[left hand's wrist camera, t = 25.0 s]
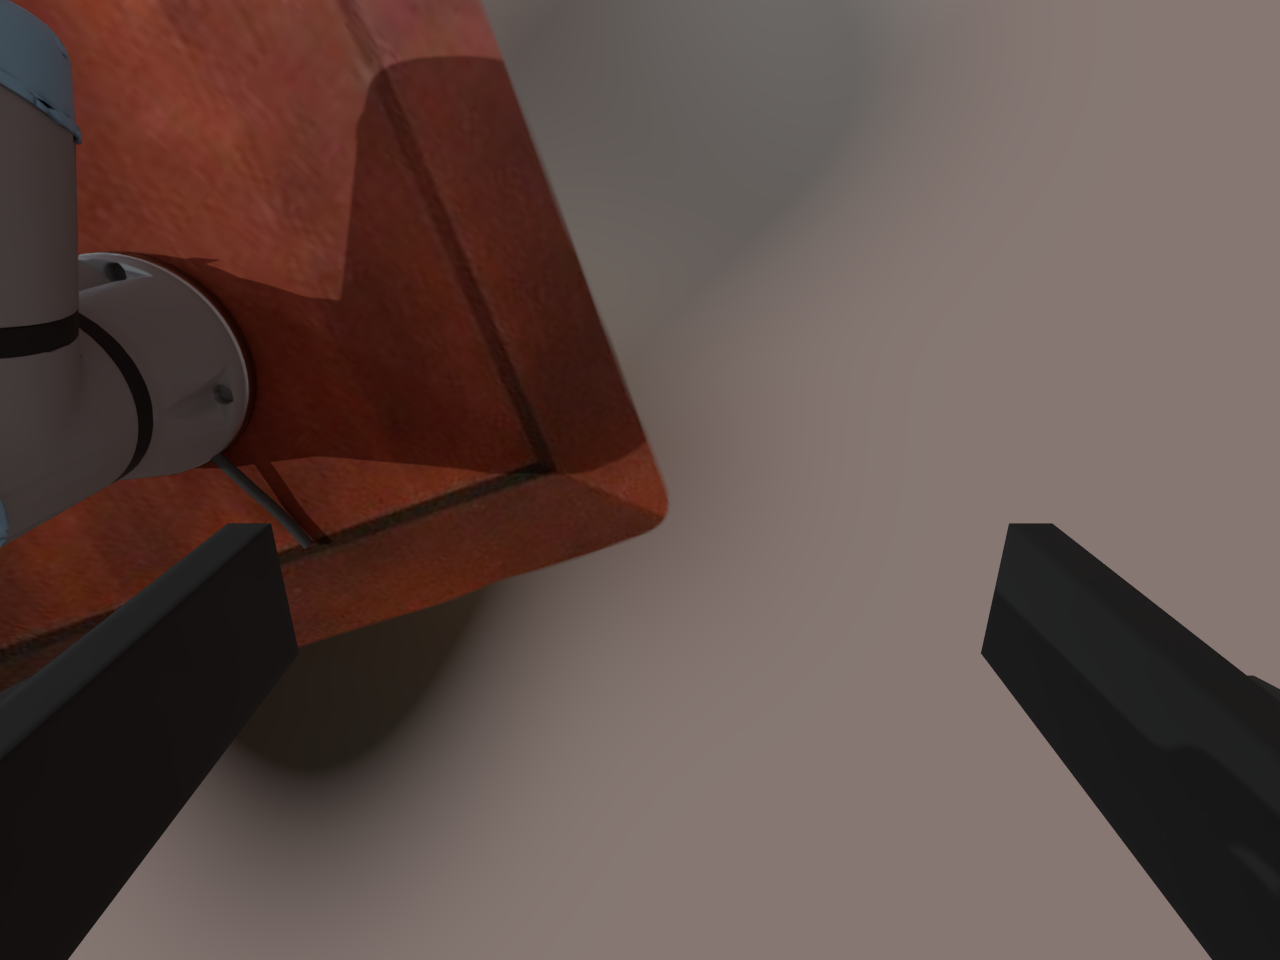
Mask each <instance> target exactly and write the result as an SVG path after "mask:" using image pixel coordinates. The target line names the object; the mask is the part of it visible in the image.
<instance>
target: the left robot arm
mask: <svg viewBox="0 0 1280 960" xmlns="http://www.w3.org/2000/svg"><path fill="white" fill-rule="evenodd" d="M81 142H82V134H81V131H80V129H79V127H78V126H77V124H76V123H75V110H74V96H73V82H72V69H71V63H70V59H69V56H68V53H67V51H66V49H65V47H64V45H63V44H62V43H61V41H60V40H59V38H58V37H57V36H56V35H55V33H54V32H53V31H52V30H51V29H50V28H49V27H48V26H47V25H46V24H45V23H43V22H42V21H41V20H40V19H39V18H37V17H36V16H34V15H33V14H32V13H30V12H28V11H27V10H25V9H24V8H22V7H20V6H18V5H17V4H15V3H13V2H11V1H9V0H0V547H2V546H4V545H6V544H7V543H9V542H11V541H12V540H14V539H16V538H18V537H19V536H21V535H23V534H25V533H26V532H28V531H30V530H32V529H33V528H35V527H37V526H39V525H40V524H42V523H44V522H46V521H47V520H49V519H51V518H53V517H54V516H56V515H58V514H59V513H61V512H63V511H65V510H66V509H68V508H70V507H72V506H73V505H75V504H77V503H79V502H80V501H82V500H84V499H86V498H87V497H89V496H91V495H93V494H94V493H96V492H98V491H100V490H101V489H103V488H105V487H106V486H108V485H110V484H112V483H114V482H115V481H117V480H126V479H136V478H146V477H156V476H165V475H172V474H176V473H180V472H184V471H187V470H190V469H193V468H196V467H198V466H201V465H203V464H205V463H207V462H208V461H210V460H212V461H213V462H214V463H215V464H216V465H217V466H218V467H219V468H220V469H222V470H223V471H224V472H225V473H226V474H227V475H228V476H229V477H230V478H231V479H232V480H234V481H235V482H236V483H237V484H238V485H239V486H240V487H241V488H242V489H243V490H245V491H246V492H247V493H248V494H249V495H250V496H251V497H253V498H254V499H255V500H256V501H257V502H258V503H259V504H261V505H262V506H263V507H264V508H265V509H266V510H267V511H268V512H270V513H271V514H272V515H273V516H274V517H275V518H276V519H277V520H278V521H279V522H280V523H281V524H282V525H283V526H284V527H285V528H286V529H287V530H288V531H289V532H290V533H291V535H292V536H293V537H294V538H295V539H296V540H297V541H298V542H299V543H300V544H301V545H302V546H303V548H306V547H308V546H309V545H310V544H311V543H312V542H313V541H312V540H311V539H310V537H309V536H308V535H307V534H306V533H305V532H304V531H303V530H302V529H301V528H300V526H299V525H298V524H297V523H296V522H295V521H294V520H293V519H292V518H291V517H290V516H289V515H288V514H287V513H286V512H285V511H284V510H283V509H282V508H281V507H280V506H279V505H278V504H277V503H276V502H274V501H273V500H272V499H271V498H270V497H269V496H268V495H267V494H265V493H264V492H263V491H262V490H261V489H260V488H259V487H258V486H256V485H255V484H254V483H253V482H252V481H251V480H250V479H249V478H248V477H247V476H245V475H244V474H243V473H242V472H241V471H240V470H239V469H238V468H237V467H236V466H235V465H234V464H233V463H231V462H230V461H229V460H228V459H227V458H226V457H225V456H224V455H223V454H222V453H223V452H224V451H226V450H227V449H228V448H229V447H231V446H232V445H233V444H234V443H235V442H236V441H237V439H238V438H239V437H240V436H241V434H242V433H243V431H244V430H245V428H246V426H247V424H248V422H249V420H250V418H251V415H252V411H253V408H254V403H255V396H256V377H255V369H254V365H253V360H252V357H251V354H250V350H249V347H248V345H247V343H246V340H245V338H244V336H243V334H242V332H241V330H240V329H239V327H238V325H237V324H236V322H235V320H234V319H233V317H232V316H231V315H230V313H229V312H228V311H227V309H226V308H225V307H224V306H223V305H222V303H221V302H220V301H219V300H218V299H217V298H216V297H215V296H214V295H213V294H212V293H211V292H210V291H209V290H208V289H207V288H205V287H204V286H203V285H202V284H200V283H199V282H198V281H197V280H195V279H194V278H192V277H191V276H189V275H188V274H186V273H185V272H183V271H181V270H179V269H178V268H176V267H174V266H172V265H169V264H167V263H165V262H163V261H160V260H157V259H155V258H152V257H148V256H144V255H141V254H135V253H130V252H118V251H115V252H98V253H89V254H81V255H78V234H77V186H76V144H81ZM298 654H299V651H298V647H297V642H296V637H295V633H294V628H293V623H292V619H291V614H290V610H289V605H288V600H287V596H286V591H285V586H284V582H283V577H282V573H281V568H280V563H279V559H278V554H277V550H276V545H275V540H274V536H273V531H272V526H271V524H227V525H225V526H224V527H223V528H221V529H220V530H219V531H218V532H216V533H215V534H214V535H212V536H211V537H210V538H209V539H207V540H206V541H205V542H203V543H202V544H201V545H200V546H198V547H197V548H196V549H195V550H193V551H192V552H191V553H189V554H188V555H187V556H186V557H184V558H183V559H182V560H180V561H179V562H178V563H177V564H175V565H174V566H173V567H171V568H170V569H169V570H168V571H166V572H165V573H164V574H163V575H161V576H160V577H159V578H157V579H156V580H155V581H154V582H152V583H151V584H150V585H148V586H147V587H146V588H145V589H143V590H142V591H141V592H140V593H138V594H137V595H136V596H134V597H133V598H132V599H131V600H129V601H128V602H127V603H125V604H124V605H123V606H122V607H120V608H119V609H118V610H116V611H115V612H114V613H113V614H111V615H110V616H109V617H108V618H106V619H105V620H104V621H102V622H101V623H100V624H99V625H97V626H96V627H95V628H93V629H92V630H91V631H90V632H88V633H87V634H86V635H85V636H83V637H82V638H81V639H79V640H78V641H77V642H76V643H74V644H73V645H72V646H70V647H69V648H68V649H67V650H65V651H64V652H63V653H61V654H60V655H59V656H58V657H56V658H55V659H54V660H53V661H51V662H50V663H49V664H47V665H46V666H45V667H44V668H42V669H41V670H40V671H38V672H37V673H36V674H35V675H33V676H32V677H31V678H27V679H25V680H23V681H21V682H19V683H17V684H15V685H13V686H11V687H9V688H8V689H6V690H4V691H2V692H0V960H68V959H69V957H70V956H71V955H72V953H73V952H74V951H75V949H76V948H77V947H78V945H79V944H80V943H81V941H82V940H83V939H84V937H85V936H86V935H87V933H88V932H89V931H90V929H91V928H92V927H93V925H94V924H95V923H96V922H97V920H98V919H99V918H100V916H101V915H102V914H103V912H104V911H105V910H106V908H107V907H108V906H109V904H110V903H111V902H112V900H113V899H114V898H115V896H116V895H117V894H118V892H119V891H120V890H121V888H122V887H123V886H124V884H125V883H126V882H127V880H128V879H129V878H130V876H131V875H132V874H133V872H134V871H135V870H136V868H137V867H138V866H139V865H140V863H141V862H142V861H143V859H144V858H145V857H146V855H147V854H148V853H149V851H150V850H151V849H152V847H153V846H154V845H155V843H156V842H157V841H158V839H159V838H160V837H161V835H162V834H163V833H164V831H165V830H166V829H167V827H168V826H169V825H170V823H171V822H172V821H173V820H174V818H175V817H176V815H177V814H178V813H179V811H180V810H181V809H182V808H183V806H184V805H185V804H186V802H187V801H188V800H189V798H190V797H191V796H192V794H193V793H194V792H195V790H196V789H197V788H198V786H199V785H200V784H201V782H202V781H203V780H204V778H205V777H206V776H207V774H208V773H209V772H210V770H211V769H212V768H213V766H214V765H215V764H216V763H217V761H218V760H219V758H220V757H221V756H222V755H223V753H224V752H225V751H226V749H227V748H228V747H229V745H230V744H231V743H232V741H233V740H234V739H235V737H236V736H237V735H238V733H239V732H240V731H241V729H242V728H243V727H244V725H245V724H246V723H247V721H248V720H249V719H250V717H251V716H252V715H253V713H254V712H255V711H256V710H257V708H258V707H259V705H260V704H261V703H262V702H263V700H264V699H265V698H266V696H267V695H268V694H269V692H270V691H271V690H272V688H273V687H274V686H275V684H276V683H277V682H278V680H279V679H280V678H281V676H282V675H283V674H284V672H285V671H286V670H287V668H288V667H289V666H290V664H291V663H292V662H293V660H294V659H295V658H296V657H297V655H298ZM981 654H982V655H983V657H984V658H985V659H986V660H987V662H988V663H989V664H990V666H991V667H992V668H993V670H994V671H995V672H996V674H997V675H998V676H999V678H1000V679H1001V680H1002V682H1003V683H1004V684H1005V686H1006V687H1007V688H1008V690H1009V691H1010V692H1011V694H1012V695H1013V696H1014V697H1015V699H1016V700H1017V702H1018V703H1019V704H1020V706H1021V707H1022V708H1023V709H1024V711H1025V712H1026V713H1027V715H1028V716H1029V717H1030V719H1031V720H1032V721H1033V723H1034V724H1035V725H1036V727H1037V728H1038V729H1039V731H1040V732H1041V733H1042V735H1043V736H1044V737H1045V739H1046V740H1047V741H1048V743H1049V744H1050V745H1051V747H1052V748H1053V749H1054V751H1055V752H1056V753H1057V755H1058V756H1059V757H1060V758H1061V760H1062V761H1063V763H1064V764H1065V765H1066V766H1067V768H1068V769H1069V770H1070V772H1071V773H1072V774H1073V776H1074V777H1075V778H1076V780H1077V781H1078V782H1079V784H1080V785H1081V786H1082V788H1083V789H1084V790H1085V792H1086V793H1087V794H1088V796H1089V797H1090V798H1091V800H1092V801H1093V802H1094V804H1095V805H1096V806H1097V808H1098V809H1099V810H1100V812H1101V813H1102V814H1103V816H1104V817H1105V818H1106V820H1107V821H1108V822H1109V823H1110V825H1111V826H1112V827H1113V829H1114V830H1115V831H1116V833H1117V834H1118V835H1119V837H1120V838H1121V839H1122V841H1123V842H1124V843H1125V845H1126V846H1127V847H1128V849H1129V850H1130V851H1131V853H1132V854H1133V855H1134V857H1135V858H1136V859H1137V861H1138V862H1139V863H1140V865H1141V866H1142V867H1143V869H1144V870H1145V871H1146V873H1147V874H1148V875H1149V877H1150V878H1151V879H1152V880H1153V882H1154V883H1155V884H1156V886H1157V887H1158V888H1159V890H1160V891H1161V892H1162V894H1163V895H1164V896H1165V898H1166V899H1167V900H1168V902H1169V903H1170V904H1171V906H1172V907H1173V908H1174V910H1175V911H1176V912H1177V914H1178V915H1179V916H1180V918H1181V919H1182V920H1183V922H1184V923H1185V924H1186V925H1187V927H1188V928H1189V930H1190V931H1191V932H1192V933H1193V935H1194V936H1195V937H1196V939H1197V940H1198V941H1199V943H1200V944H1201V945H1202V947H1203V948H1204V949H1205V951H1206V952H1207V953H1208V955H1209V956H1210V957H1211V959H1212V960H1280V689H1278V688H1276V687H1274V686H1273V685H1271V684H1269V683H1267V682H1265V681H1263V680H1261V679H1259V678H1257V677H1255V676H1247V675H1245V674H1244V673H1243V672H1241V671H1240V670H1239V669H1238V668H1236V667H1235V666H1234V665H1233V664H1231V663H1230V662H1229V661H1227V660H1226V659H1225V658H1224V657H1222V656H1221V655H1220V654H1218V653H1217V652H1216V651H1215V650H1213V649H1212V648H1211V647H1209V646H1208V645H1207V644H1206V643H1204V642H1203V641H1202V640H1201V639H1199V638H1198V637H1197V636H1195V635H1194V634H1193V633H1192V632H1190V631H1189V630H1188V629H1187V628H1185V627H1184V626H1183V625H1181V624H1180V623H1179V622H1178V621H1176V620H1175V619H1174V618H1172V617H1171V616H1170V615H1169V614H1167V613H1166V612H1165V611H1163V610H1162V609H1161V608H1159V607H1158V606H1157V605H1156V604H1155V603H1153V602H1152V601H1151V600H1149V599H1148V598H1147V597H1146V596H1144V595H1143V594H1142V593H1140V592H1139V591H1138V590H1137V589H1135V588H1134V587H1133V586H1132V585H1130V584H1129V583H1128V582H1126V581H1125V580H1124V579H1123V578H1121V577H1120V576H1119V575H1117V574H1116V573H1115V572H1114V571H1112V570H1111V569H1110V568H1109V567H1107V566H1106V565H1105V564H1103V563H1102V562H1101V561H1099V560H1098V559H1097V558H1096V557H1094V556H1093V555H1092V554H1091V553H1089V552H1088V551H1087V550H1085V549H1084V548H1083V547H1082V546H1080V545H1079V544H1078V543H1077V542H1075V541H1074V540H1073V539H1071V538H1070V537H1069V536H1067V535H1066V534H1065V533H1064V532H1062V531H1061V530H1060V529H1059V528H1057V527H1056V526H1055V525H1053V524H1009V526H1008V531H1007V536H1006V540H1005V545H1004V550H1003V554H1002V559H1001V563H1000V568H999V573H998V577H997V582H996V586H995V591H994V596H993V600H992V605H991V610H990V614H989V619H988V624H987V628H986V633H985V637H984V642H983V647H982V651H981Z"/></svg>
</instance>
